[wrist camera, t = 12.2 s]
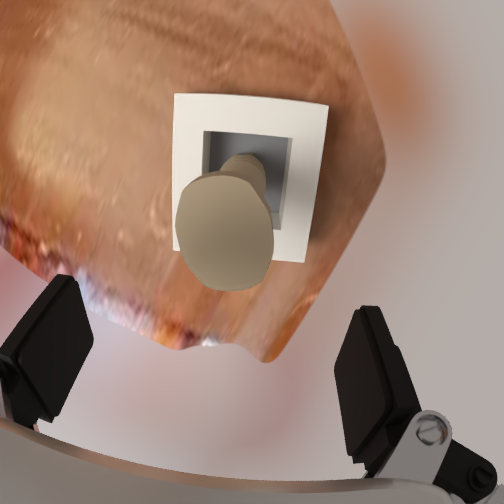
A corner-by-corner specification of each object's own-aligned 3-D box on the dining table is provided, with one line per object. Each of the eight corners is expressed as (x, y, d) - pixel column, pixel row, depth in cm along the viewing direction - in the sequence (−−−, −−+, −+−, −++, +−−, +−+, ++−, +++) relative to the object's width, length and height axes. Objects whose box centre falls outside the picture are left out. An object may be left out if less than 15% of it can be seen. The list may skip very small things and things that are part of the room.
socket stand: (189, 92, 27) (174, 93, 22) (318, 103, 27) (328, 106, 23) (185, 227, 34) (173, 250, 29) (299, 238, 34) (303, 262, 29)
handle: (267, 131, 28) (265, 169, 14) (275, 197, 31) (278, 287, 17) (214, 138, 28) (164, 183, 15) (225, 202, 31) (191, 293, 18)
